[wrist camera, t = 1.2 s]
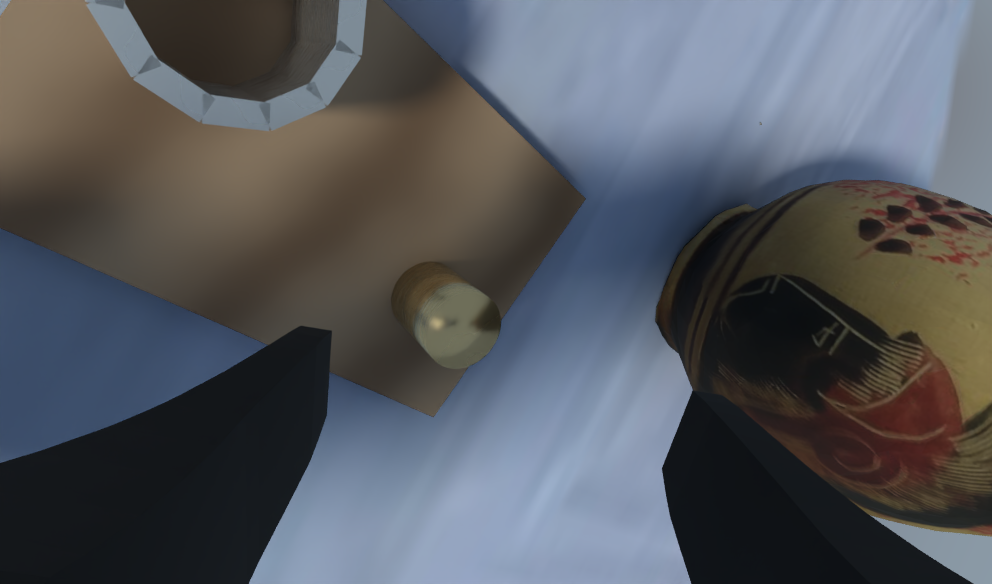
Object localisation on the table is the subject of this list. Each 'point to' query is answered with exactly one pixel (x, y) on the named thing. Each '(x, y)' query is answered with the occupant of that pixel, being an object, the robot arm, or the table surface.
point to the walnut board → (271, 179)
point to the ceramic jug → (852, 340)
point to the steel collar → (264, 99)
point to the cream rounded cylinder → (446, 314)
